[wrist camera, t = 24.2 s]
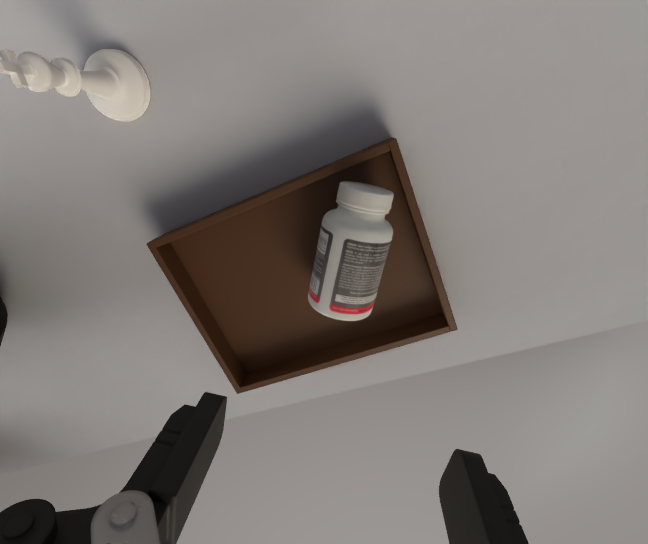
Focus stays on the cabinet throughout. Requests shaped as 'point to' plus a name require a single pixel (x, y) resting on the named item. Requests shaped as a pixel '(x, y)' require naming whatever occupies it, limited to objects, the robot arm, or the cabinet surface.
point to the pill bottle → (351, 252)
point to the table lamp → (2, 319)
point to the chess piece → (86, 80)
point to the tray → (301, 276)
